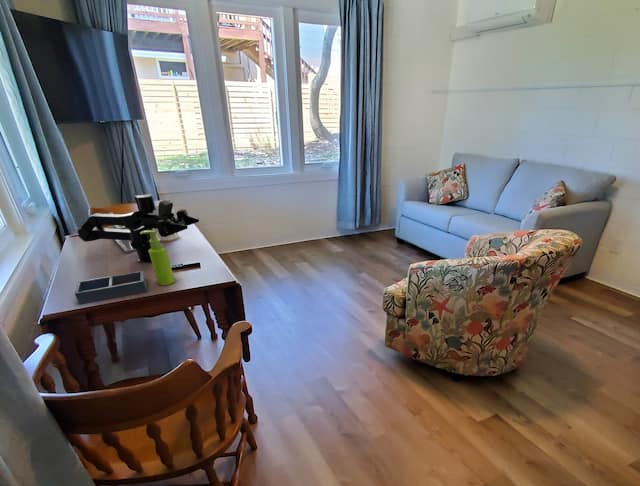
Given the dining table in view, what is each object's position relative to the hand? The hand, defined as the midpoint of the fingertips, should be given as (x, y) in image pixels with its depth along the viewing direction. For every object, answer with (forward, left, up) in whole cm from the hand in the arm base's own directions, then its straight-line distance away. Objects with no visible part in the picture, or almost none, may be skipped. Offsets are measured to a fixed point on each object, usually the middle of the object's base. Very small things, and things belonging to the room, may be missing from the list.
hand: (193, 223), depth 161 cm
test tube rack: (-48, +18, -17) cm, 54 cm away
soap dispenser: (-5, -21, -17) cm, 27 cm away
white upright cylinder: (-31, +28, -17) cm, 45 cm away
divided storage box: (-19, -31, -17) cm, 40 cm away
